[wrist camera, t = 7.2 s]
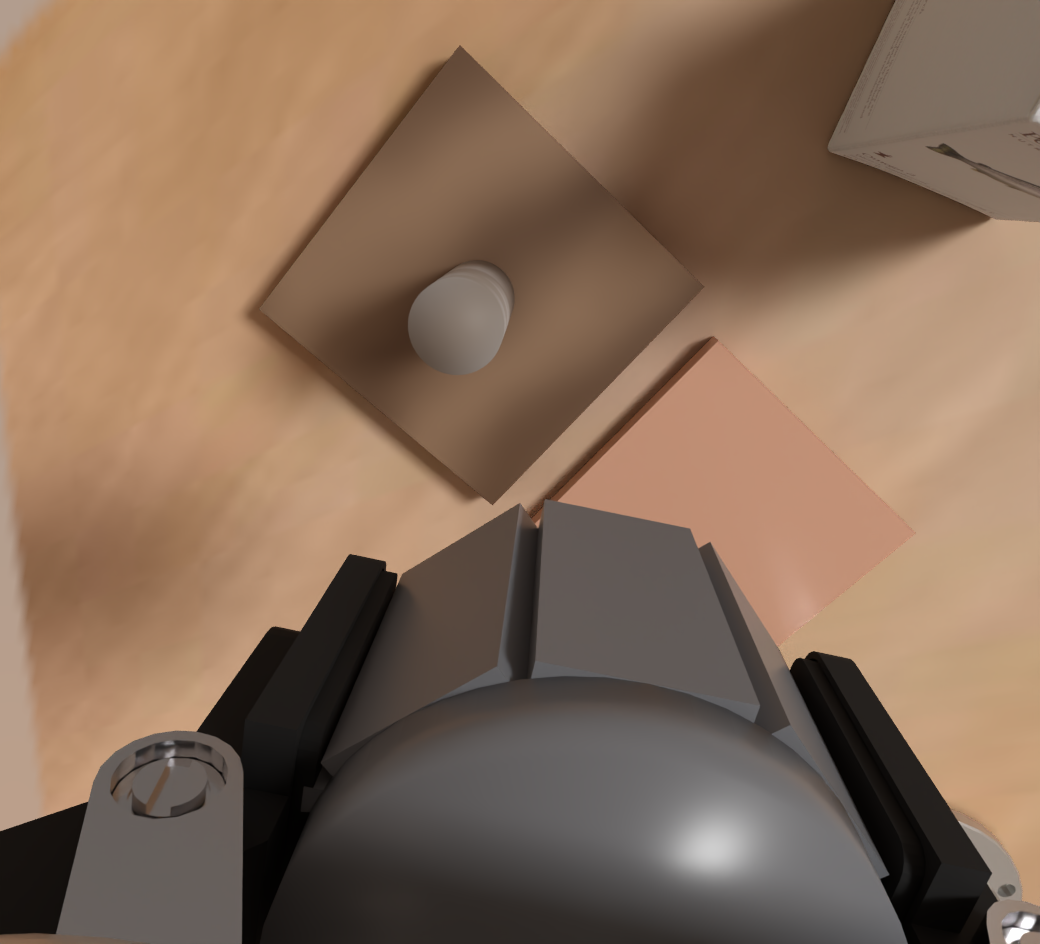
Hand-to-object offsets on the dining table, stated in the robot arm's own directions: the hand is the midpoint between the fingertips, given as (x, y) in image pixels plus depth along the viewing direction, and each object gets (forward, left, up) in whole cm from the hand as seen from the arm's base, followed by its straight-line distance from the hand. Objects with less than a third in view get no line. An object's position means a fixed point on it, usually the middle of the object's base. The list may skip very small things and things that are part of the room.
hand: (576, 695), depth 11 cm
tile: (-9, +1, -21) cm, 23 cm away
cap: (0, 0, 0) cm, 0 cm away
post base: (+5, 0, -21) cm, 22 cm away
